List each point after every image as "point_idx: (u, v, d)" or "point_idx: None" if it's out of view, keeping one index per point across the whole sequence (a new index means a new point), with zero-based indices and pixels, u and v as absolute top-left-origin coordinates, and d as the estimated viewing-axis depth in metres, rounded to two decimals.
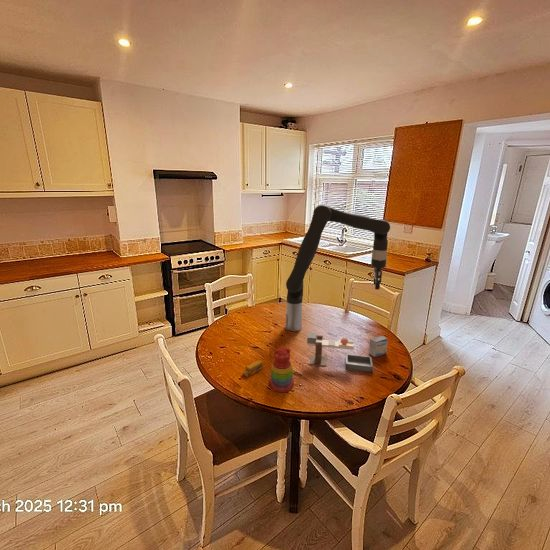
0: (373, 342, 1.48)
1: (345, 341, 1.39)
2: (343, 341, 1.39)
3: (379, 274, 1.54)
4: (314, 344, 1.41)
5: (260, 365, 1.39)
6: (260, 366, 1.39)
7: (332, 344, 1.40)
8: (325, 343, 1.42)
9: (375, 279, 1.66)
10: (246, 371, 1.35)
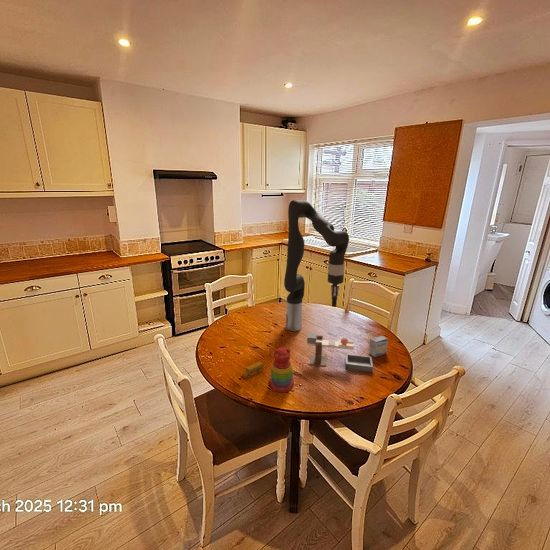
0: (373, 342, 1.48)
1: (345, 341, 1.39)
2: (343, 341, 1.39)
3: (334, 295, 1.41)
4: (314, 344, 1.41)
5: (260, 367, 1.37)
6: (260, 368, 1.37)
7: (332, 344, 1.40)
8: (325, 343, 1.42)
9: None
10: (246, 372, 1.34)
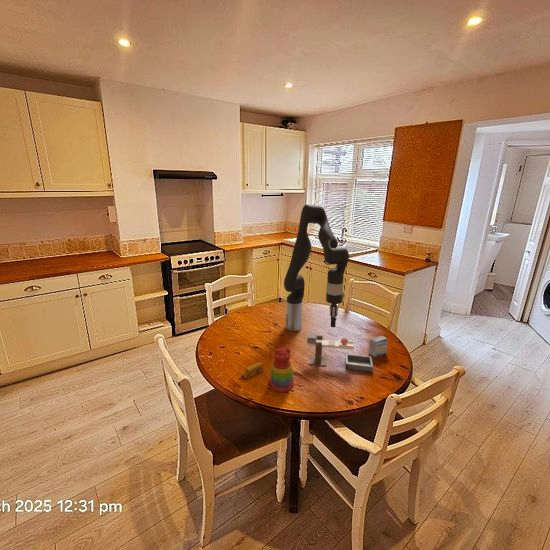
0: (373, 342, 1.48)
1: (345, 341, 1.39)
2: (343, 341, 1.39)
3: (333, 316, 1.32)
4: (314, 344, 1.41)
5: (260, 367, 1.37)
6: (260, 368, 1.37)
7: (332, 344, 1.40)
8: (325, 343, 1.42)
9: None
10: (245, 372, 1.34)
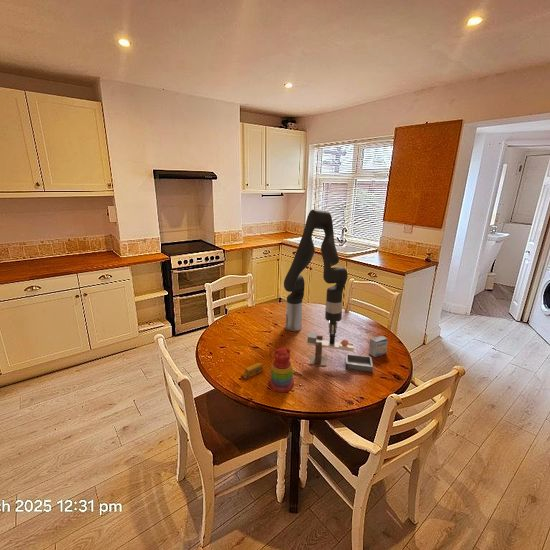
0: (373, 342, 1.48)
1: (346, 343, 1.39)
2: (344, 342, 1.39)
3: (332, 333, 1.35)
4: (314, 344, 1.41)
5: (260, 367, 1.37)
6: (260, 368, 1.37)
7: (332, 345, 1.40)
8: (325, 343, 1.42)
9: None
10: (245, 373, 1.33)
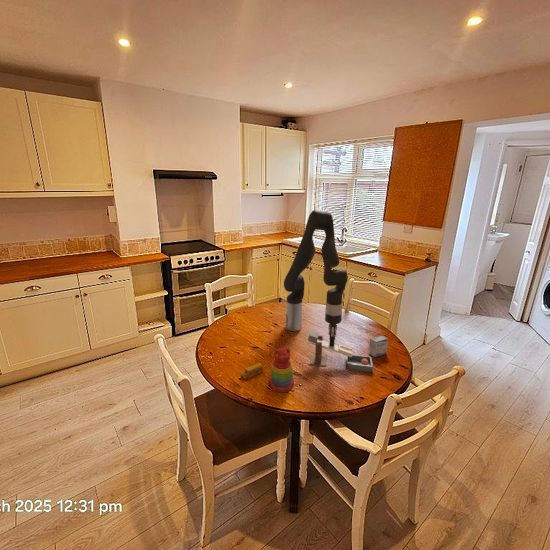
0: (373, 342, 1.48)
1: (366, 363, 1.40)
2: (364, 362, 1.40)
3: (332, 336, 1.35)
4: (314, 343, 1.41)
5: (260, 368, 1.36)
6: (260, 369, 1.36)
7: (332, 347, 1.41)
8: (325, 344, 1.42)
9: None
10: (245, 373, 1.33)
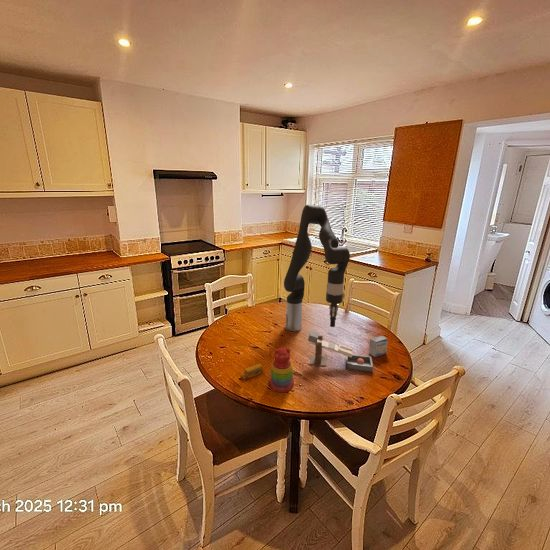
0: (373, 342, 1.48)
1: (360, 361, 1.40)
2: (358, 362, 1.40)
3: (333, 315, 1.32)
4: (314, 343, 1.41)
5: (260, 369, 1.36)
6: (260, 370, 1.36)
7: (332, 347, 1.41)
8: (325, 345, 1.42)
9: None
10: (244, 374, 1.33)
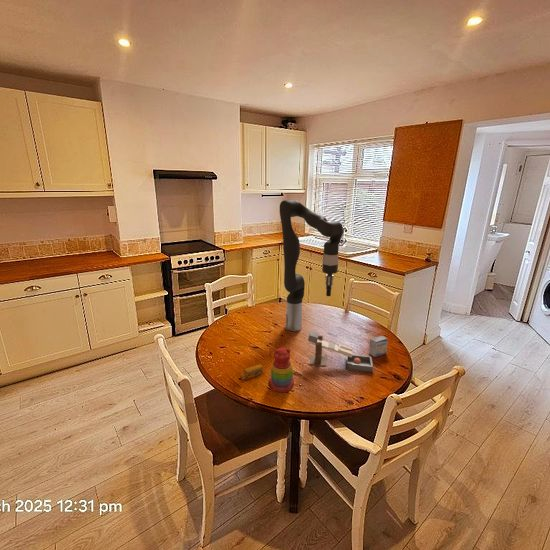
0: (373, 342, 1.48)
1: (355, 362, 1.41)
2: (356, 363, 1.41)
3: (328, 284, 1.44)
4: (314, 343, 1.41)
5: (259, 370, 1.35)
6: (259, 371, 1.35)
7: (332, 347, 1.41)
8: (325, 345, 1.42)
9: None
10: (244, 374, 1.33)
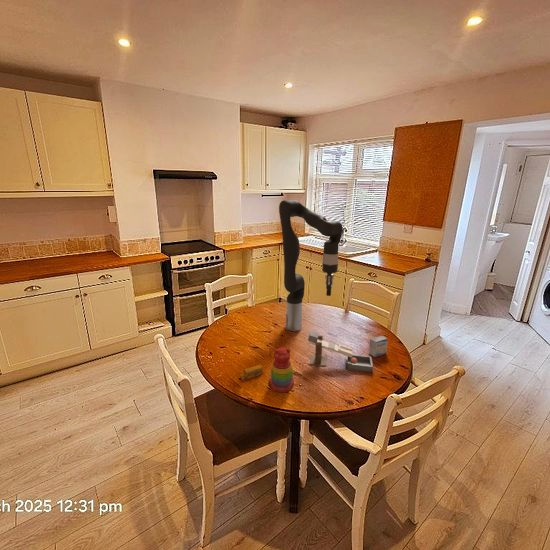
0: (373, 342, 1.48)
1: (352, 363, 1.41)
2: (354, 363, 1.41)
3: (329, 284, 1.44)
4: (314, 343, 1.41)
5: (259, 370, 1.35)
6: (259, 371, 1.35)
7: (332, 347, 1.41)
8: (325, 345, 1.42)
9: None
10: (243, 374, 1.32)
